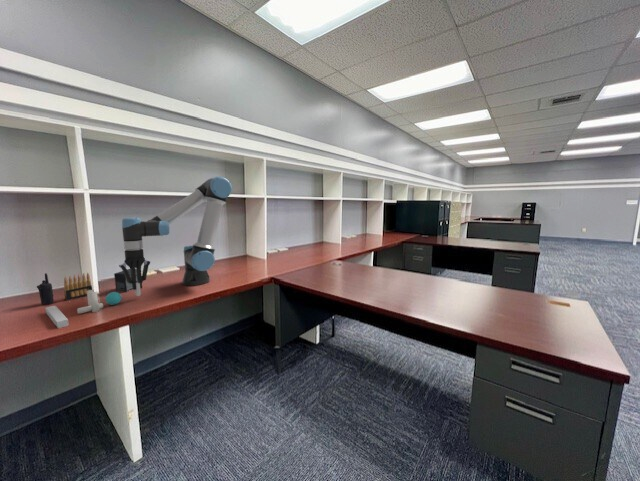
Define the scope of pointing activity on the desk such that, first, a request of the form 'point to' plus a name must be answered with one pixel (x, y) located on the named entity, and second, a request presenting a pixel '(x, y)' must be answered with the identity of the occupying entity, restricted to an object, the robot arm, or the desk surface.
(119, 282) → the small box
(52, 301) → the two-way radio
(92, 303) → the back left pin
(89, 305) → the back right pin
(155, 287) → the desk surface
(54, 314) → the white rectangular eraser
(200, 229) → the robot arm
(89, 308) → the front pin
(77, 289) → the ammunition clip
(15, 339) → the desk surface
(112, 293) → the ball
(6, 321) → the desk surface
